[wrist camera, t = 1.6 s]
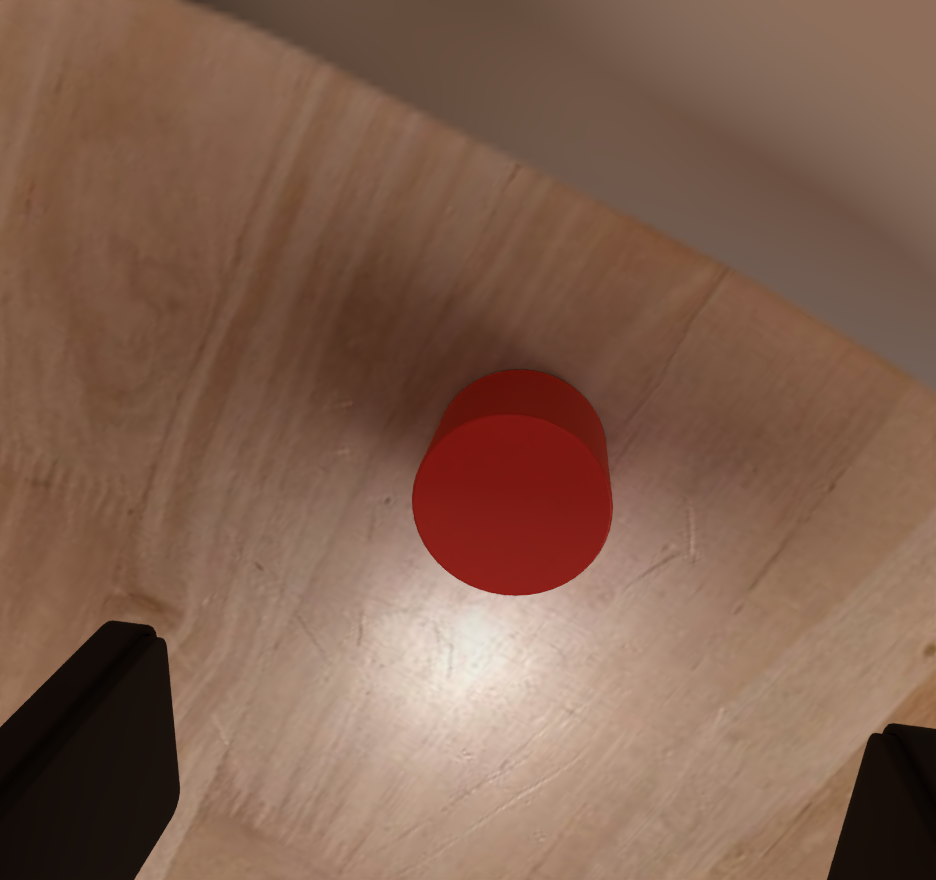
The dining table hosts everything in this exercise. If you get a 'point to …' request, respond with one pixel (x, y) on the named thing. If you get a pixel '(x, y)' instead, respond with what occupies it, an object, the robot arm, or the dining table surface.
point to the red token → (515, 485)
